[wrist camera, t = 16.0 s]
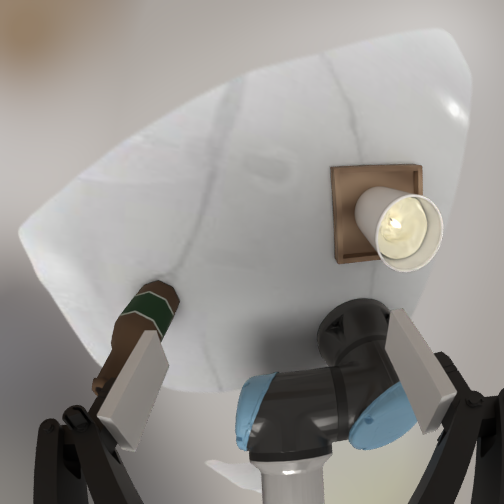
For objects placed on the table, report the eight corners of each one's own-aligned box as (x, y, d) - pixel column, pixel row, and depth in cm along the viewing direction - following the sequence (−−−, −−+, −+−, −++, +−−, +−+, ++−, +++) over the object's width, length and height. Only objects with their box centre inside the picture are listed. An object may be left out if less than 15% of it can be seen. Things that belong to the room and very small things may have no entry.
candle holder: (363, 171, 40) (395, 181, 29) (413, 195, 41) (454, 213, 29) (339, 229, 43) (362, 259, 32) (390, 249, 44) (422, 281, 33)
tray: (413, 249, 44) (419, 254, 42) (334, 258, 46) (338, 264, 43) (414, 164, 39) (422, 165, 37) (330, 167, 41) (333, 168, 38)
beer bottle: (133, 294, 50) (67, 382, 28) (158, 270, 48) (90, 360, 26) (163, 323, 52) (113, 420, 30) (189, 301, 50) (143, 404, 28)
